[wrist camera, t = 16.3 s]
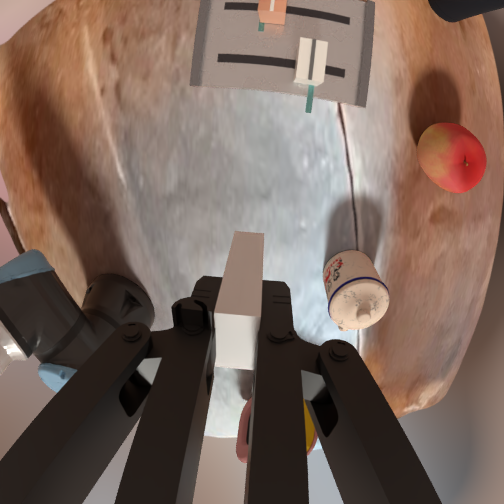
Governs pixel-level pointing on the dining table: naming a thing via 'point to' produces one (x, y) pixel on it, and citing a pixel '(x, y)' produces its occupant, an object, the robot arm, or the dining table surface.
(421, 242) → the dining table surface
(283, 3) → the fader
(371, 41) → the console
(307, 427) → the alarm clock
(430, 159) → the apple
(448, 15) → the black water bottle
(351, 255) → the teacup with lid
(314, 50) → the fader
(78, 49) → the dining table surface
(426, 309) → the dining table surface
